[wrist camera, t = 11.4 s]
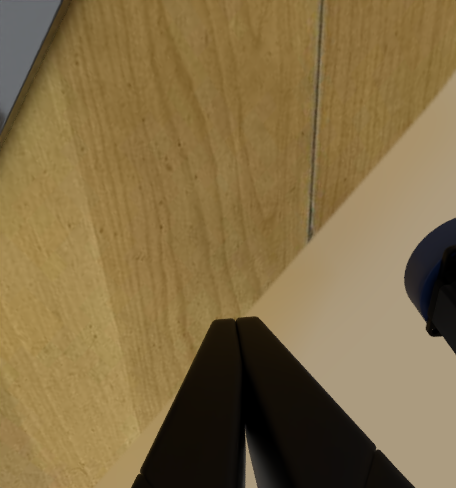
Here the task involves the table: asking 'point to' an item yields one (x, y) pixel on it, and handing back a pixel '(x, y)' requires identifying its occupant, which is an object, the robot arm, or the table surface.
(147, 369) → the table surface
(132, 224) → the table surface
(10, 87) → the black flat block
